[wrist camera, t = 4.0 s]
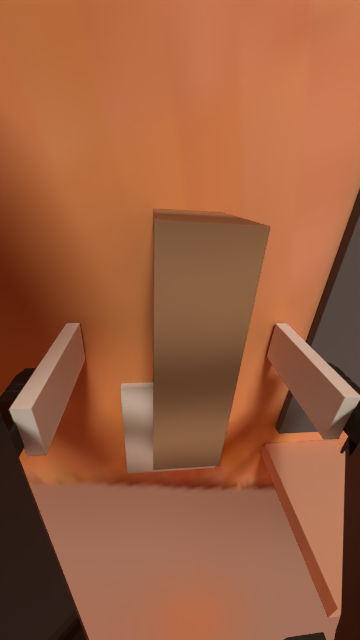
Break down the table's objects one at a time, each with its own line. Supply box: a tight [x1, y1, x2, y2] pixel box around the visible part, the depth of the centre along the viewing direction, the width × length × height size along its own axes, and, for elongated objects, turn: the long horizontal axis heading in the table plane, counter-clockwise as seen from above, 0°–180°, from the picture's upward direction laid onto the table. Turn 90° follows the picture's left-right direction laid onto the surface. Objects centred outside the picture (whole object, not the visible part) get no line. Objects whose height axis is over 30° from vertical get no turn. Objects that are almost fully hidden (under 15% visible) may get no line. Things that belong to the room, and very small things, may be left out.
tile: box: [261, 440, 345, 618], centre depth 19 cm, size 7×2×10 cm, turn 87°
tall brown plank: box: [121, 209, 270, 474], centre depth 15 cm, size 22×8×6 cm, turn 177°
